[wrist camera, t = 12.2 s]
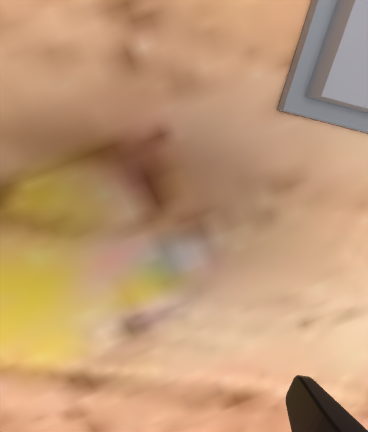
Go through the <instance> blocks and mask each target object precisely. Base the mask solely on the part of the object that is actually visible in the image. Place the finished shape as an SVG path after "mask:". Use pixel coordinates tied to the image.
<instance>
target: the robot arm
mask: <svg viewBox="0 0 368 432" xmlns="http://www.w3.org/2000/svg"><path fill="white" fill-rule="evenodd" d="M286 406H287V411H288V416H289V421H290V425H291V430H292V432H368V430H366V429H365V428H364V427H363V426H362V425H361V424H360V423H359V422H358V421H357V420H356V419H355V418H354V417H353V416H351V415H350V414H349V413H348V412H347V411H346V410H345V409H344V408H343V407H342V406H341V405H340V404H339V403H338V402H337V401H335V400H334V399H333V398H332V397H331V396H330V395H329V394H328V393H327V392H326V391H325V390H324V389H323V388H322V387H320V386H319V385H318V384H317V383H316V382H315V381H314V380H313V379H312V378H310V377H308V376H300V375H297V376H296V377H295V378H294V379H293V382H292V384H291V386H290V388H289V390H288V392H287V395H286Z"/></svg>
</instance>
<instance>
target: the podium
mask: <svg viewBox="0 0 368 432" xmlns="http://www.w3.org/2000/svg"><path fill="white" fill-rule="evenodd" d="M277 110H279V111H283V112H287V113H291V114H294V115H298V116H302V117H306V118H310V119H314V120H318V121H322V122H325V123H329V124H333V125H337V126H341V127H345V128H349V129H353V130H356V131H360V132H364V133H368V0H312V1H311V5H310V8H309V11H308V14H307V17H306V20H305V24H304V27H303V30H302V33H301V36H300V39H299V42H298V46H297V49H296V52H295V55H294V58H293V61H292V65H291V68H290V71H289V74H288V77H287V80H286V84H285V87H284V90H283V93H282V96H281V99H280V103H279V106H278V109H277Z"/></svg>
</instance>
